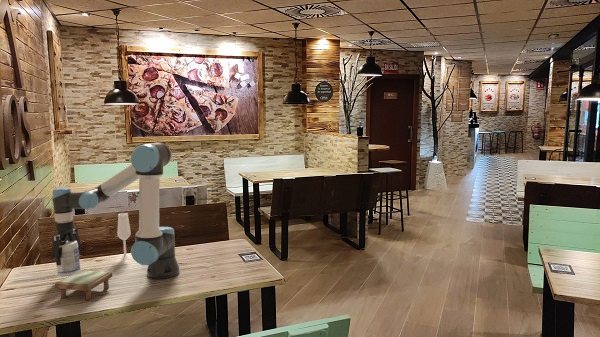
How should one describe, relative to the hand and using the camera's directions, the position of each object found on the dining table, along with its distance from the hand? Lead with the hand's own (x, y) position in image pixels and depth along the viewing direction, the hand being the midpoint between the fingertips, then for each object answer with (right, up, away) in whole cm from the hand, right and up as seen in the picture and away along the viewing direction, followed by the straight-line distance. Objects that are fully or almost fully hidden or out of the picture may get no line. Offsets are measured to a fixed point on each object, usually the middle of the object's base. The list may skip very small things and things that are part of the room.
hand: (68, 267), depth 204 cm
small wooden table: (+15, -8, -14) cm, 22 cm away
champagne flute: (+13, -2, +33) cm, 35 cm away
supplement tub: (0, -3, 0) cm, 3 cm away
